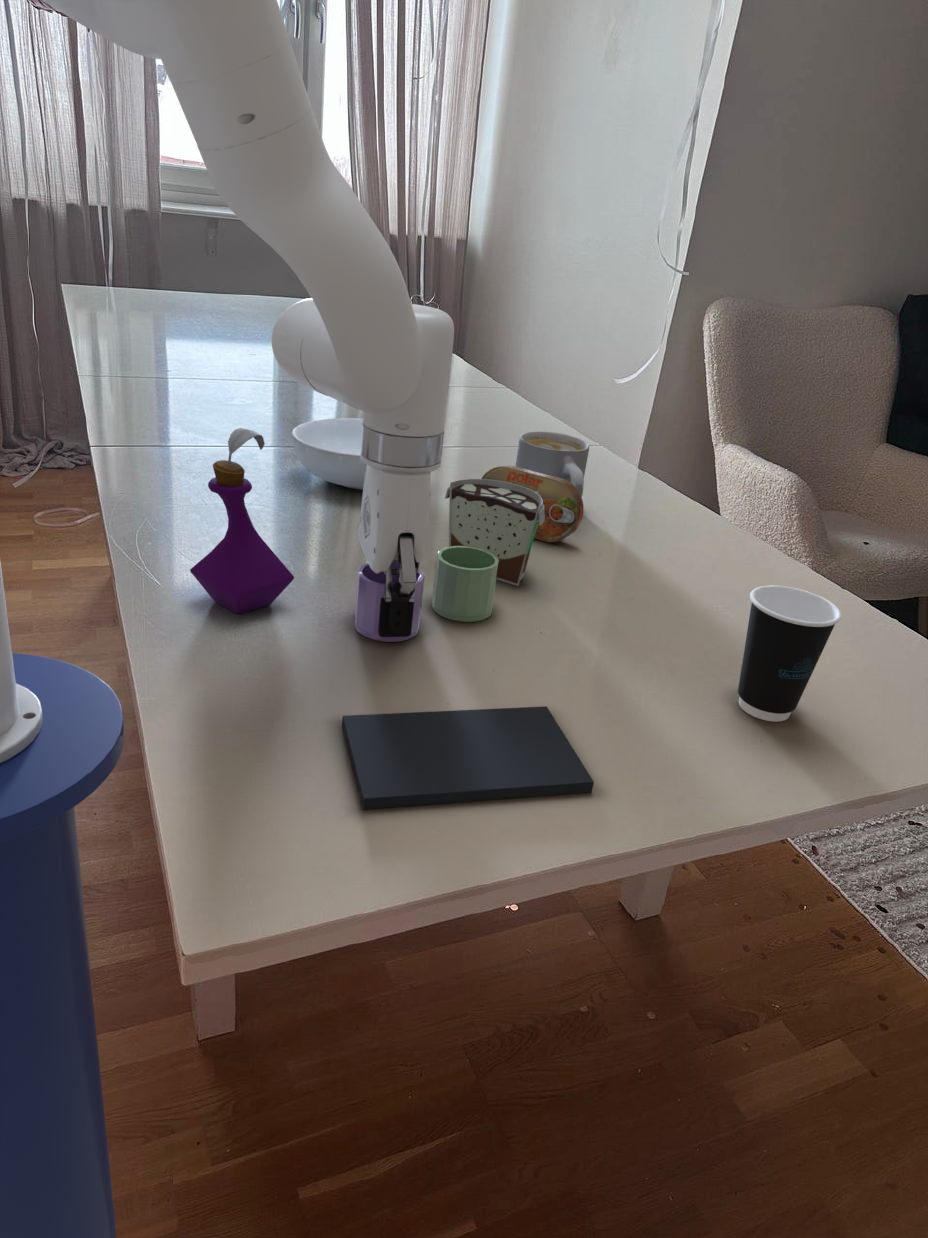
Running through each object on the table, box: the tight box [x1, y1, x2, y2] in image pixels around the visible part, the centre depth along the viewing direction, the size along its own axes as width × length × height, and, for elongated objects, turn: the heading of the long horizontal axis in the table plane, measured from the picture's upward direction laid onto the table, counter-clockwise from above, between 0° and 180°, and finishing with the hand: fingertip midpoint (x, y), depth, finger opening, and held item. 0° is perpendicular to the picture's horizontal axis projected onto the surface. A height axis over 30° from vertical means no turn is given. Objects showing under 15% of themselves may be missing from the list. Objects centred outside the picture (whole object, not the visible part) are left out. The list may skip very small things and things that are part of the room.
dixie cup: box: [737, 584, 842, 723], centre depth 82 cm, size 8×8×11 cm
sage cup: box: [431, 546, 499, 623], centre depth 96 cm, size 6×6×6 cm
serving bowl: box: [291, 417, 367, 491], centre depth 131 cm, size 21×21×7 cm
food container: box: [444, 478, 545, 587], centre depth 106 cm, size 12×6×10 cm, turn 62°
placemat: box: [341, 705, 595, 810], centre depth 72 cm, size 18×11×1 cm, turn 105°
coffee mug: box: [515, 430, 590, 498], centre depth 127 cm, size 13×10×10 cm
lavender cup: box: [354, 562, 426, 643], centre depth 90 cm, size 6×6×6 cm
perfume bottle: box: [189, 427, 295, 615], centre depth 88 cm, size 8×8×18 cm
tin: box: [480, 465, 584, 543], centre depth 119 cm, size 15×3×8 cm, turn 58°
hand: (387, 617), depth 90 cm, fingers closed on lavender cup, 6 cm apart
